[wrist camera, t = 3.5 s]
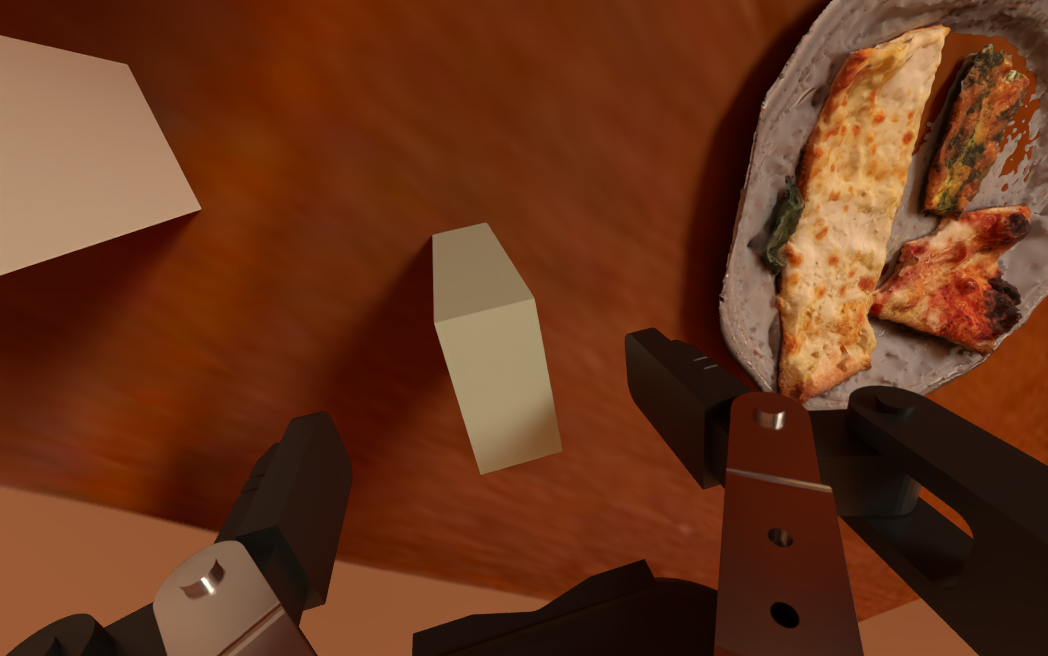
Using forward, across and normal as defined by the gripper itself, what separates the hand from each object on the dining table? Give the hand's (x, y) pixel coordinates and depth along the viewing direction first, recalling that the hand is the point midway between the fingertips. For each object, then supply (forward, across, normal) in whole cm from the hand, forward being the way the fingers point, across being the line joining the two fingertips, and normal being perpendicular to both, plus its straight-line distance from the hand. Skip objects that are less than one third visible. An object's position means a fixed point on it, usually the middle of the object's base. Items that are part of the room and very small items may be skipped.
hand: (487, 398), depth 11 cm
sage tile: (+10, -1, 0) cm, 10 cm away
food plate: (+10, -25, +2) cm, 27 cm away
